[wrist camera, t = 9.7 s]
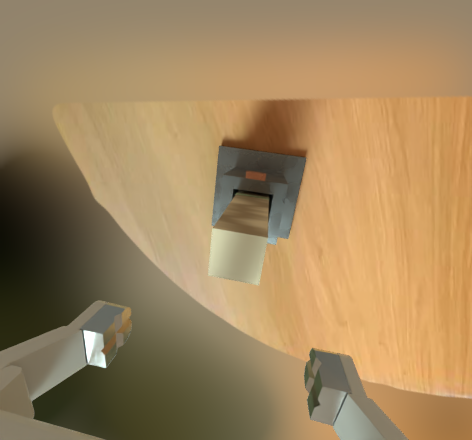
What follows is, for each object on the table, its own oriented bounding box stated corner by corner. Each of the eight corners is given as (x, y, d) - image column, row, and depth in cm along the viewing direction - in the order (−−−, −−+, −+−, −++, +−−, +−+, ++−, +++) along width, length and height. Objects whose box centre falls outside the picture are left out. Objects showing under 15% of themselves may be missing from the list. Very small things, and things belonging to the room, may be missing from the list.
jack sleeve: (305, 157, 36) (320, 162, 25) (287, 235, 40) (294, 268, 30) (221, 145, 37) (201, 145, 26) (213, 223, 42) (193, 249, 31)
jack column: (269, 192, 30) (268, 237, 15) (264, 219, 32) (259, 286, 17) (240, 187, 31) (212, 227, 16) (236, 215, 32) (207, 275, 17)
